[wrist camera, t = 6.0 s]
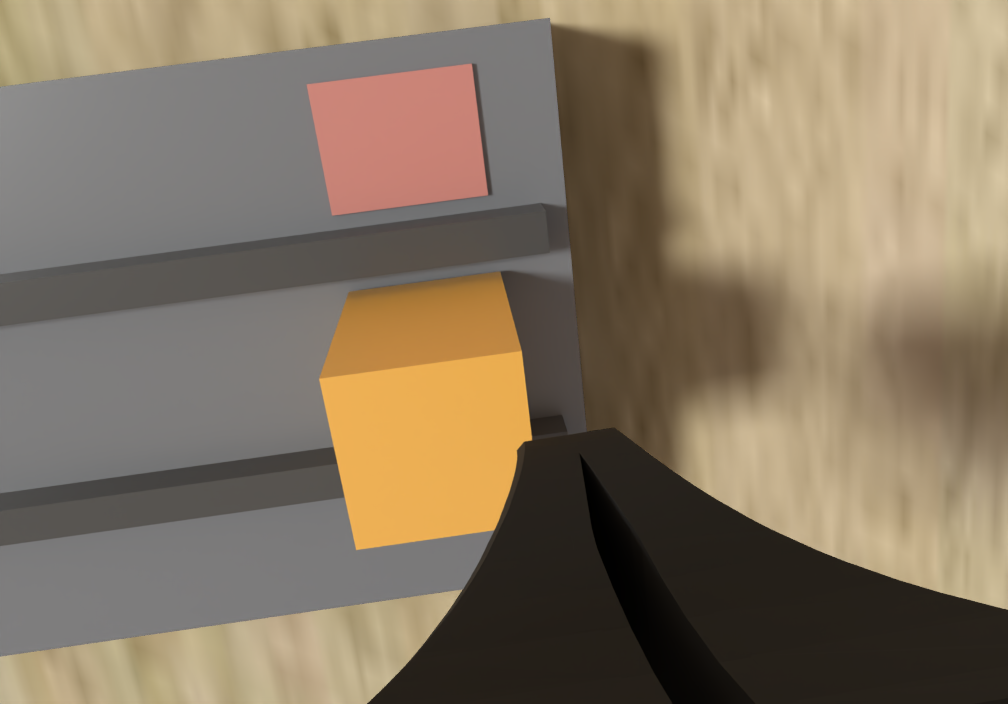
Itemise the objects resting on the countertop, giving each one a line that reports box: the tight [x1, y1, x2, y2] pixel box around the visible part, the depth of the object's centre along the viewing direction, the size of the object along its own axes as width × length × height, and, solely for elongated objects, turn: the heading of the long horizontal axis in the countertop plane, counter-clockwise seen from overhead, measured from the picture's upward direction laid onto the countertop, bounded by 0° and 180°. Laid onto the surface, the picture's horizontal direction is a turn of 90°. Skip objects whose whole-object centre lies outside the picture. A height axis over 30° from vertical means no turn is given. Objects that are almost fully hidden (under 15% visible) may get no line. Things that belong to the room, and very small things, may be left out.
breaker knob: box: [319, 272, 532, 550], centre depth 15 cm, size 3×3×4 cm
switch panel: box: [0, 18, 587, 656], centre depth 18 cm, size 12×18×4 cm, turn 97°
